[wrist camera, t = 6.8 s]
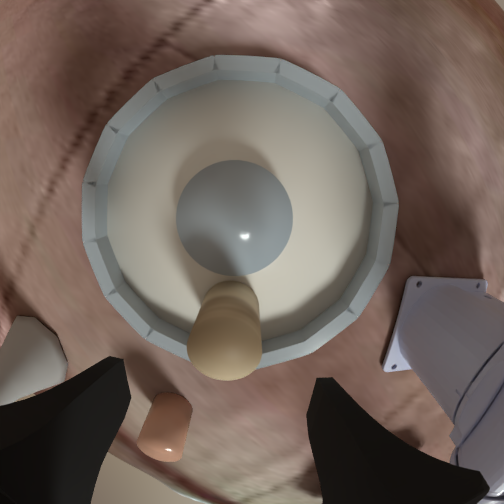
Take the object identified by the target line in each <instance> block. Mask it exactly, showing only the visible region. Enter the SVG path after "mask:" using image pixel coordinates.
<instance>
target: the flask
mask: <svg viewBox="0 0 504 504" xmlns="http://www.w3.org/2000/svg"><path fill="white" fill-rule="evenodd" d="M67 366H68V363H67V361H66V358H65V356H64V353H63V351H62V348H61V346H60V343H59V340H58V338H57V336H56V335H54V334H53V333H52V332H51V331H50V330H49V329H47V328H46V327H45V326H44V325H43V324H42V323H40V322H39V321H38V320H37V319H36V318H35V317H26V316H17V317H16V319H15V320H14V322H13V324H12V326H11V328H10V330H9V332H8V334H7V336H6V338H5V340H4V342H3V344H2V346H1V348H0V406H1V405H6V404H10V403H13V402H14V401H16V400H17V399H19V398H21V397H24V396H26V395H29V394H32V393H34V392H37V391H39V390H42V389H45V388H48V387H51V386H54V385H56V384H59V383H61V382H64V380H65V375H66V371H67Z"/></svg>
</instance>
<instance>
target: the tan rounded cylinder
mask: <svg viewBox="0 0 504 504" xmlns="http://www.w3.org/2000/svg"><path fill="white" fill-rule="evenodd" d="M187 354H188V357H189V359H190V361H191V363H192V364H193V365H194V367H195V368H196V369H197V370H199V371H200V372H201V373H203V374H204V375H206V376H208V377H211V378H214V379H218V380H236V379H240V378H243V377H245V376H247V375H249V374H250V373H251V372H253V371H254V370H255V369H256V367H257V366H258V365H259V363H260V360H261V357H262V341H261V326H260V312H259V302H258V298H257V296H256V294H255V293H254V292H253V290H252V289H251V288H250V287H248V286H247V285H245V284H243V283H241V282H237V281H223V282H220V283H217V284H215V285H214V286H213V287H211V288H210V289H209V291H208V292H207V293H206V295H205V298H204V300H203V303H202V305H201V308H200V310H199V313H198V315H197V318H196V320H195V323H194V325H193V328H192V330H191V333H190V335H189V338H188V341H187Z"/></svg>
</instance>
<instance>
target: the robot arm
mask: <svg viewBox="0 0 504 504" xmlns="http://www.w3.org/2000/svg"><path fill="white" fill-rule="evenodd" d="M418 281H419V285H417V286H416V284H417V282H418ZM476 285H477V286H476ZM487 285H488V283H487V280H485V279H470V278H446V277H425V276H411V277H409V278H408V279H407V282H406V285H405V290H404V294H403V298H402V302H401V306H400V310H399V313H398V317H397V321H396V324H395V328H394V331H393V334H392V338H391V341H390V344H389V347H388V350H387V353H386V356H385V359H384V362H383V365H382V369H383V371H385V372H392V371H401V370H408V369H413V371H414V372H415V373H416V374H417V376H418V377H419V378H420V380H421V381H422V382H423V384H424V385H425V386H426V387H427V389H428V390H429V391H430V393H431V394H432V395H433V397H434V398H435V399H436V401H437V402H438V403H439V405H440V406H441V407H442V409H443V410H444V411H445V413H446V414H447V416H448V417H449V418H450V420H451V421H452V422H453V424H454V425H455V426H454V429H453V431H452V432H451V434H450V435H449V436H450V438H451V439H452V441H453V442H454V444H455V445H456V447H455V448H454V450H453V452H452V455H451V458H450V463H447V462H444V461H441V460H439V459H436V458H434V457H432V456H429V455H427V454H425V453H423V452H421V451H419V450H418V449H416V448H414V447H412V446H410V445H409V444H407V443H405V442H404V441H402V440H401V439H399V438H398V437H396V436H395V435H393V434H392V433H391V432H389V431H388V430H387V429H385V428H384V427H383V426H382V425H380V424H379V423H378V422H377V421H376V420H374V419H373V418H372V417H371V416H370V415H369V414H368V413H367V412H366V411H365V410H364V409H362V408H361V407H360V406H359V405H358V404H357V403H356V402H355V401H354V400H353V399H352V397H351V396H350V395H349V394H348V393H347V392H346V391H345V390H344V389H343V388H342V387H341V386H340V385H339V384H338V383H337V382H336V381H335V379H334V378H333V377H330V378H317V379H316V383H315V386H314V390H313V394H312V397H311V401H310V404H309V408H308V411H307V415H306V416H307V426H308V435H309V440H310V444H311V449H312V453H313V457H314V461H315V464H316V468H317V472H318V476H319V480H320V485H321V490H322V499H323V504H504V302H502V301H500V300H498V299H497V298H495V297H493V296H491V295H490V294H488V293H486V289H487ZM394 364H395V365H394ZM393 365H394V366H393ZM130 400H131V394H130V390H129V385H128V381H127V376H126V371H125V366H124V361H123V359H120V358H116V357H111V356H109V357H107V358H105V359H103V360H101V361H100V362H98V363H96V364H95V365H93V366H91V367H90V368H88V369H86V370H85V371H83V372H81V373H80V374H78V375H76V376H74V377H73V378H71V379H69V380H67V381H65V382H63V383H61V384H60V385H58V386H56V387H54V388H52V389H50V390H48V391H45V392H43V393H41V394H38V395H36V396H33V397H30V398H28V399H25V400H21V401H17V402H13V403H10V404H6V405H1V406H0V504H91V499H92V495H93V491H94V487H95V484H96V480H97V477H98V474H99V471H100V467H101V465H102V462H103V460H104V458H105V456H106V453H107V452H108V450H109V448H110V446H111V444H112V442H113V440H114V438H115V436H116V434H117V432H118V430H119V428H120V426H121V424H122V422H123V420H124V418H125V415H126V412H127V409H128V406H129V403H130Z"/></svg>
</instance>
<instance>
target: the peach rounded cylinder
mask: <svg viewBox="0 0 504 504" xmlns="http://www.w3.org/2000/svg"><path fill="white" fill-rule="evenodd" d="M192 411H193V409H192V406H191V404H190V403H189V402H188V401H187V400H186V399H185V398H183V397H182V396H180V395H177V394H174V393H169V392H165V393H160V394H158V395H157V396H156V397H155V398H154V401H153V403H152V405H151V408H150V410H149V413H148V415H147V417H146V420H145V422H144V425H143V427H142V430H141V432H140V435H139V437H138V439H137V445H138V447H139V449H140V450H141V451H142V452H143V453H145V454H146V455H148V456H150V457H152V458H154V459H156V460H160V461H165V462H174V461H178V460H180V459H181V457H182V453H183V449H184V445H185V441H186V436H187V432H188V428H189V424H190V420H191V415H192Z"/></svg>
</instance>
